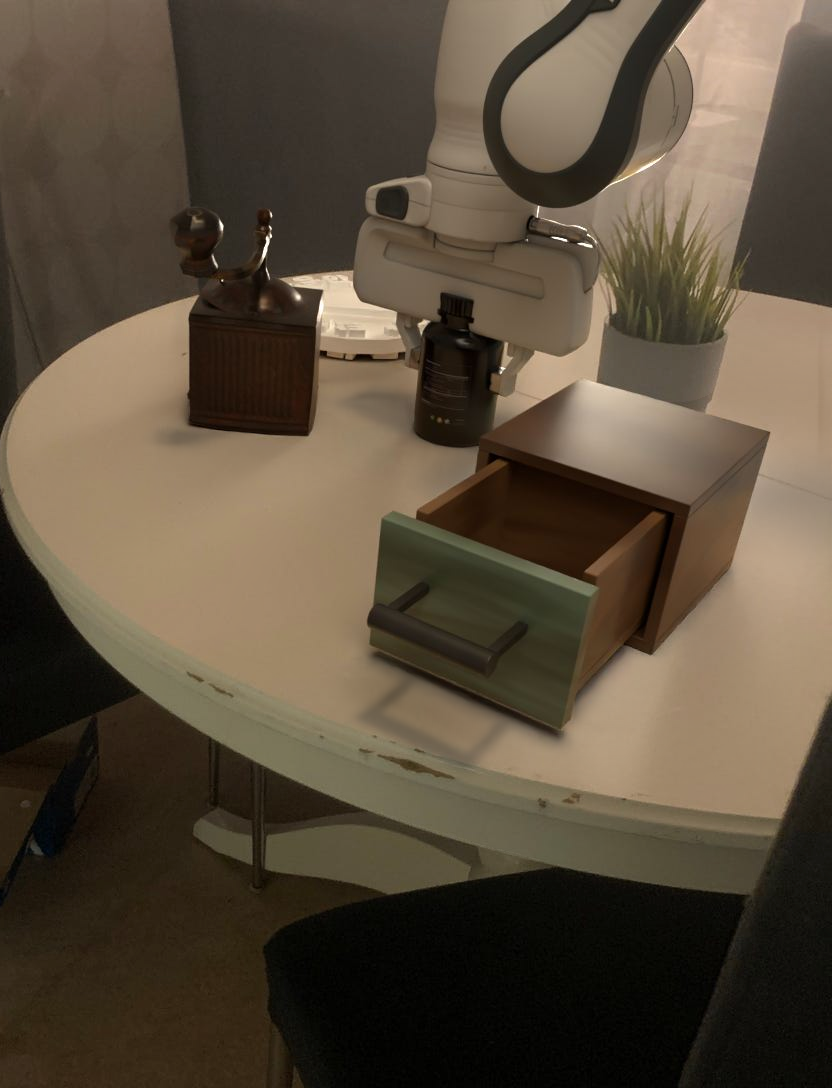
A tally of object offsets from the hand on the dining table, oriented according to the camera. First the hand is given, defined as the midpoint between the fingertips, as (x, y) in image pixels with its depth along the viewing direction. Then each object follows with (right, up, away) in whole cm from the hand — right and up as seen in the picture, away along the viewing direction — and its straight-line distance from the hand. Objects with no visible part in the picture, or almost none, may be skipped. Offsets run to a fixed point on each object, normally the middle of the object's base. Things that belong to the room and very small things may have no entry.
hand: (457, 380), depth 92 cm
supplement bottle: (0, -4, +3) cm, 5 cm away
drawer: (0, -22, -27) cm, 35 cm away
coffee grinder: (-17, -3, +2) cm, 18 cm away
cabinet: (+8, -17, -16) cm, 25 cm away
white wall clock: (-9, +11, +24) cm, 28 cm away
